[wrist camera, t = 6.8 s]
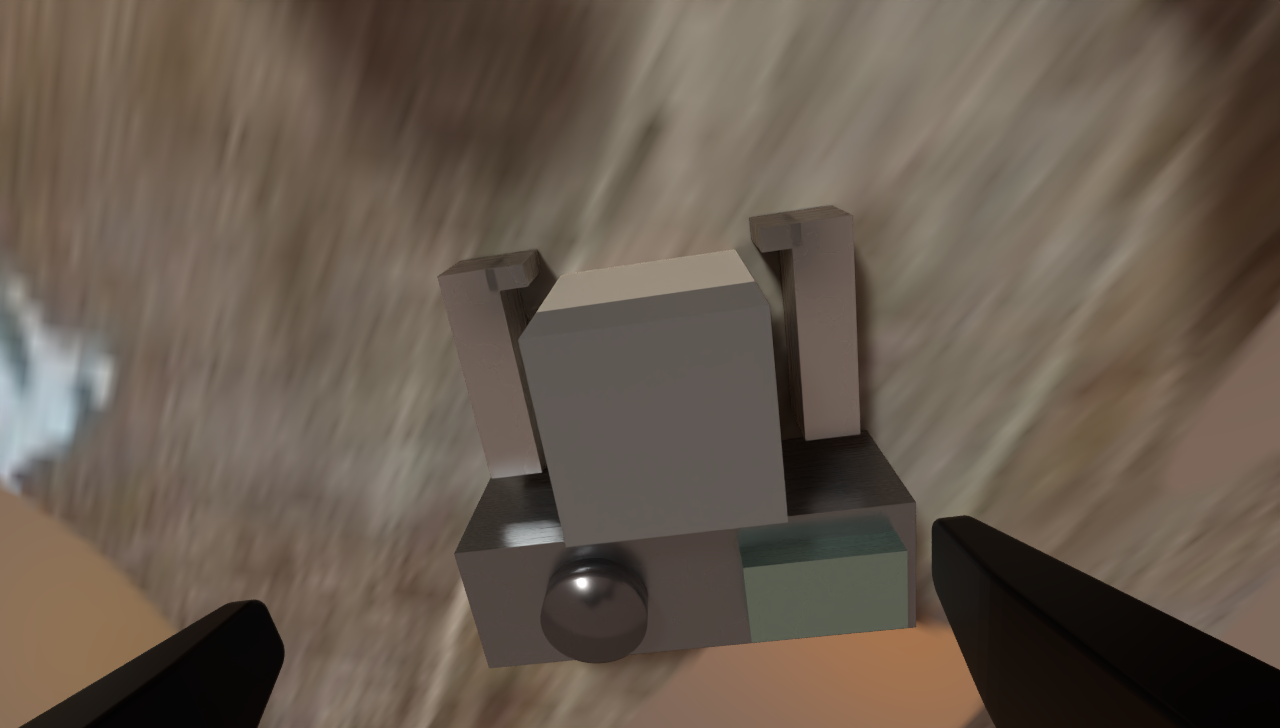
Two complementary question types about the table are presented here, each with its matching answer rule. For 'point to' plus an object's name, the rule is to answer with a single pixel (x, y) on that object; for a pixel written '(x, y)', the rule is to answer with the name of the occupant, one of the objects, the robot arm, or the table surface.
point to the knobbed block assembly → (696, 562)
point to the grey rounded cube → (657, 400)
